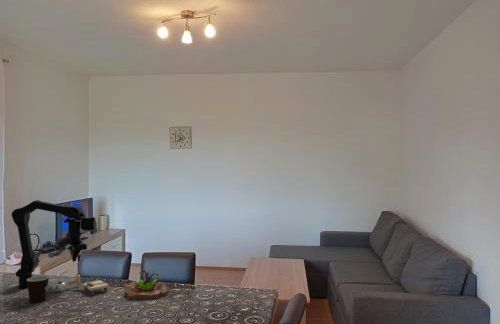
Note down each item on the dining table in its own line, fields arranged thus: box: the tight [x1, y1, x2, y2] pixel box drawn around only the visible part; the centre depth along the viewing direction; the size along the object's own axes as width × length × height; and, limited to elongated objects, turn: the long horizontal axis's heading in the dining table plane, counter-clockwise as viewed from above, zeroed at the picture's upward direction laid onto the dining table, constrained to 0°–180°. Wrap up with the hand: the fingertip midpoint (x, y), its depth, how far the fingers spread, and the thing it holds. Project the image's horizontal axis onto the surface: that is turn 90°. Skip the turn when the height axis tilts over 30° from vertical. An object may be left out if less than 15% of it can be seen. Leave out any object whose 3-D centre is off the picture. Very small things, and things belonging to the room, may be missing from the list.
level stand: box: [69, 279, 109, 296], centre depth 176 cm, size 15×13×5 cm
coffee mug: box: [27, 275, 50, 304], centre depth 165 cm, size 12×9×10 cm
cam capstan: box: [52, 274, 81, 293], centre depth 179 cm, size 12×6×5 cm, turn 135°
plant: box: [124, 270, 169, 301], centre depth 174 cm, size 20×20×11 cm
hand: (74, 261), depth 187 cm, fingers closed
